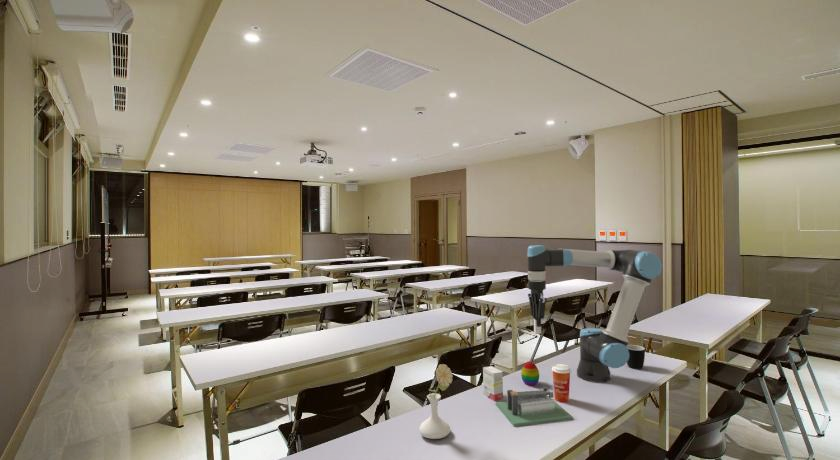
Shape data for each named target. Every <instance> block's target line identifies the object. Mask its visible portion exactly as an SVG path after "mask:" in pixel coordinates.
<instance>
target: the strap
mask: <svg viewBox="0 0 840 460" xmlns="http://www.w3.org/2000/svg"><path fill="white" fill-rule="evenodd" d="M549 392H550V390H549V389H548V390H547V389H546V390H543V389H542V390H540V389H539V390H529V391H527V390H526V391H515V390H513V391H511V392H510V396H511V397H512V395H516V394H517V397H530V396H544V395H547V396H549Z"/></svg>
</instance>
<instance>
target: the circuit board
mask: <svg viewBox="0 0 840 460" xmlns="http://www.w3.org/2000/svg"><path fill="white" fill-rule="evenodd" d="M554 403H555V413H551V414H543V415H535V416H527V417H521V416H520V415H519V414H516V415H513V414H512V409H510V410H508V407H507V400H506V401H505V400H504V401H498V402H497V401H496V402H495V406H496V407H497V409H499V411H500V412H501V413H502V414H503V416H505V418H506V419H507V421H508V422H509V423H510V424H511V425H512V426H513V427H520V426H529V425H535V424H536V425H537V424H544V423H545V424H546V423H551V422H560V421H561V422H562V421H567V420H573V415H572V414H570V413H569V412H568V411H567V410H565V409H564V408H563V407H562V406H561V405H559V404H558V403H557V402H556V400H554Z"/></svg>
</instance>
